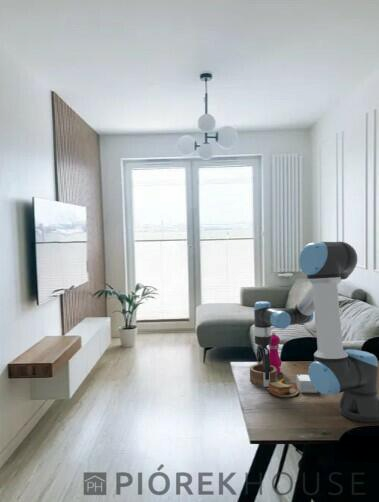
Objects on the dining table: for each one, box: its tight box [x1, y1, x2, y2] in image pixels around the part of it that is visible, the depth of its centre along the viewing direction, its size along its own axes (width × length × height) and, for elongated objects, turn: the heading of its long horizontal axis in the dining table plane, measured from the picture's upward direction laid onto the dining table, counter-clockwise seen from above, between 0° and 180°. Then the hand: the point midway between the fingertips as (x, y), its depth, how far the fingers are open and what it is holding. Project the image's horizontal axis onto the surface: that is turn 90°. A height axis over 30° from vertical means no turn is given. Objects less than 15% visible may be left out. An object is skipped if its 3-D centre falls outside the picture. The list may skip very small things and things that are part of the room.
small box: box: [296, 374, 319, 394], centre depth 163 cm, size 8×8×5 cm
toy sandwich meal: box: [267, 378, 300, 398], centre depth 160 cm, size 12×14×5 cm
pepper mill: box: [268, 331, 282, 375], centre depth 184 cm, size 7×7×20 cm
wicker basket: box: [249, 363, 278, 387], centre depth 172 cm, size 12×12×6 cm
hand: (263, 380), depth 172 cm, fingers open, 13 cm apart
